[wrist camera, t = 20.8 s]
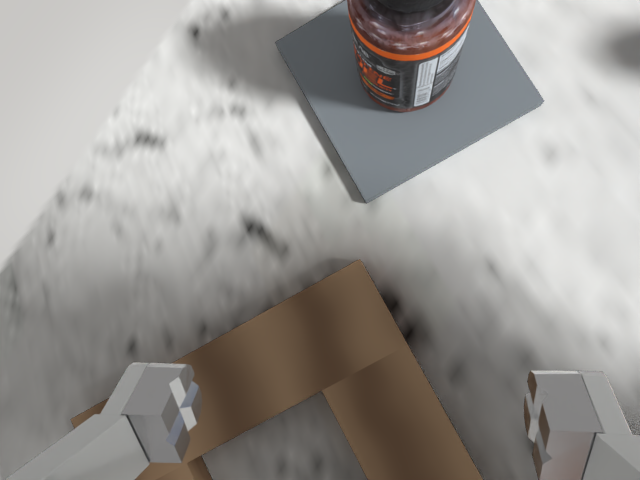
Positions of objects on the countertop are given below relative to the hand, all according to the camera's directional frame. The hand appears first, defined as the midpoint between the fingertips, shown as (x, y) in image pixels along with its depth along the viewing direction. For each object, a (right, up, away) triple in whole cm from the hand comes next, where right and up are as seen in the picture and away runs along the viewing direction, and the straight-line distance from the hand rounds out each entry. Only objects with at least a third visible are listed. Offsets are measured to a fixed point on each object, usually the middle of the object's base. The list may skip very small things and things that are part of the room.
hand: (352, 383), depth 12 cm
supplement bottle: (+5, +14, +19) cm, 24 cm away
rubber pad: (+4, +14, +20) cm, 25 cm away
